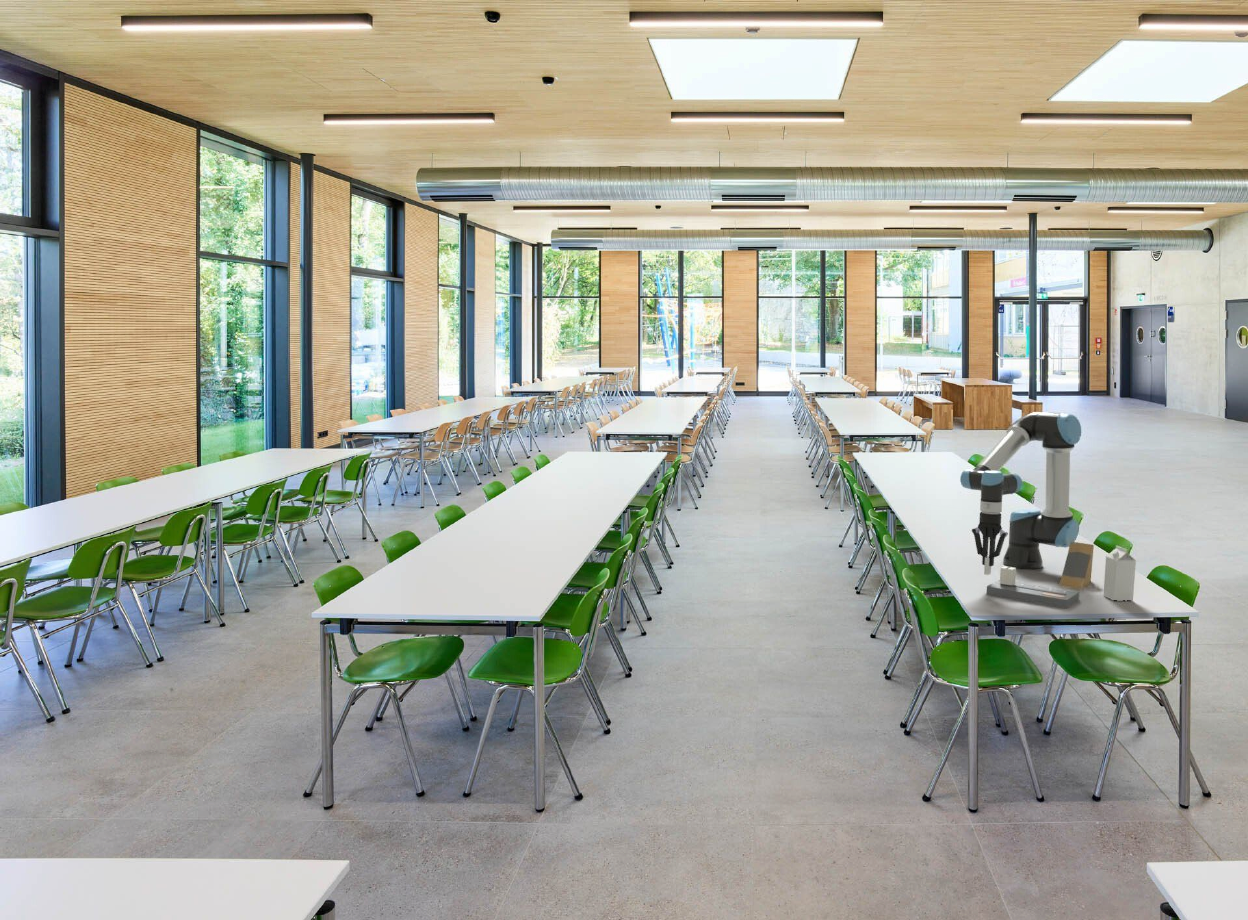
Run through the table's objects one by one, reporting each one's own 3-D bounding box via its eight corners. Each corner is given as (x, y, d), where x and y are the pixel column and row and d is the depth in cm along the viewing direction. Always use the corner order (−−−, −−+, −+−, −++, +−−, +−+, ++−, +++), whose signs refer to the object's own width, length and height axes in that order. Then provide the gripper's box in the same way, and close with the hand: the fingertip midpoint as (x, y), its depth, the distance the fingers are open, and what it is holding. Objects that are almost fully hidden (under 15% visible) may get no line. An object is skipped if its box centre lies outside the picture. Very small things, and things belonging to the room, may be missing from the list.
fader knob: (1003, 581, 353) (1004, 565, 352) (1015, 583, 350) (1016, 567, 349) (999, 583, 350) (1000, 567, 349) (1011, 585, 347) (1012, 569, 346)
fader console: (1000, 586, 359) (1000, 578, 358) (1078, 600, 340) (1079, 591, 340) (986, 594, 348) (986, 585, 348) (1066, 608, 330) (1067, 599, 329)
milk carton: (1122, 595, 346) (1125, 545, 344) (1133, 601, 339) (1136, 549, 337) (1103, 596, 346) (1106, 545, 344) (1113, 601, 339) (1117, 549, 336)
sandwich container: (1057, 586, 360) (1060, 547, 358) (1067, 578, 372) (1070, 541, 370) (1082, 590, 355) (1084, 551, 353) (1091, 581, 367) (1093, 544, 365)
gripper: (969, 511, 353) (966, 572, 356) (1004, 515, 344) (1001, 578, 347) (977, 508, 358) (974, 569, 361) (1012, 513, 350) (1008, 574, 353)
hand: (987, 573), depth 354 cm, fingers closed
